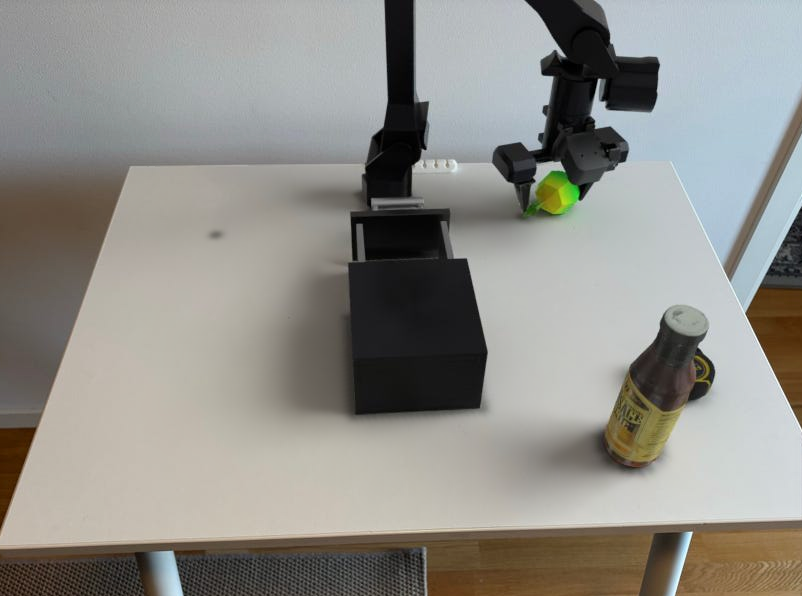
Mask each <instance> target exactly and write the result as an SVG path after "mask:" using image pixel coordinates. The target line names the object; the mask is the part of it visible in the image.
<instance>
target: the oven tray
mask: <svg viewBox="0 0 802 596" xmlns="http://www.w3.org/2000/svg"><path fill="white" fill-rule="evenodd" d="M371 207H372V210H374V211H371V210H356V211H355V210H352V211H351V210H350V212H349V219H350V221H349V222H350V239H351V240H350V241H351V262H376V261H403V260H430V259H455V257H454V252H453V251H454V250H453V246H452V243H451V236H450V228H451V227H450V226H451V209H450V207H447V208H446V207H443V208H425V198H424V196H412V197H394V198H371ZM398 209H409V210H398Z"/></svg>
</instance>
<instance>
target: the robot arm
mask: <svg viewBox="0 0 802 596" xmlns="http://www.w3.org/2000/svg"><path fill="white" fill-rule="evenodd" d="M524 2H525V3H526V4H527V5H528V6H529V7H531V8H532V10H534V11H535V12H536V13H537V14H538V16H539V17H540V19H541V20H542V21H543V23H544V25H545V27H546V28H547V30H548V33H549V34H550V36H551V38H552V39H553V41H554V42H555V43H556V45H557V46H558V48H559V49H560V51H561V52H562V54H563V55H564V56H563V55H561V54H560V53H559V52H558V50H557V49H553V50H552V52H551V53H550V54H548V55H546V56H544V57H543V58H541V59H540V61H539V64H540V65H539V66H540V75H541V76H543V77H552V82H551V89H550V94H549V100H548V104H544V105H542V110H541V113H542V114H543V115H544V116H545V117H546V118H545V123H544V130H543V132H539V133H538V134H537V141H538V142H539V143H540V144H541V148H540V149H534V150H529V149H528V148H527V147H526V145H524V143H523V142H521V141H518V142H517V141H516V142H512V143H506V144H501V145H498V146H496V147H495V148H494V149H493V152H492V160H491V164H492V165H493V166H494V167H495V168H496V170H497V171H498V172H499V174H500V175H501V176H502V178H503V179H504V180H505V181H506V182H507V183H510V184H513V187H514V190H515V194H516V198H517V201H518V204H519V208H520V210H521V212H523V213H525V212H526V211H527V209H528V207H529V205H530V204H529V203H530V196H531V189H532V185H534V184H536V183H537V180H536V178H535V176H536V174H537V169H538V166H543V165H548V164H553V163H554V164H555V163H559V162H560V164H561V166H562V168H563V170H564V172H566V174H567V177H568V180H569V182H570V183H571V184H573V185H576V186H579V190H580V194H579V197H578V200H577V201H579V202H582V201H583V200H584V198H585V197H586V195H587V194H588V193H589V191H590V190H591V188H592V186H593V185H594V184H595V183H598V182H600V181H601V179H602V178H603V176H604V174H605V173H608V172H612V171H615V170H616V168H617V167H618V166H619V164H623V163H626V162H627V160H628V157H629V153H630V144H629V143H628V141H627V140H626V139H625V138H624V137H623V136H622V135H621V134H620V133H618V132H617V131H616V130H615V129H614V128H613V127H612V126H611V125H609V126H603V127H597V128H596V126H597V125H596V119H595V118H593V116H592V111H593V106H594V101H595V97H596V93H597V88H598V102H600V103H604V108H605V110H606V111H614V112H631V113H644V114H645V113H646V114H650V113H652V112H653V110H654V108H655V106H656V103H657V101H658V96H659V94H658V87H659V71H660V68H661V63H660V60H659V57H658V56H648V55H647V56H642V57H641V56H639V57H638V56H625V55H624V56H622V55H617V53H616V49H615V45H614V43H611V31H610V27H609V24H608V20H607V16H606V12H605V9H604V8H603V6H602V5H601V4H599V3H598V2H597V0H524ZM416 5H417V2H416V0H383V7H384V32H385V33H384V34H385V35H384V38H385V59H386V60H385V61H386V62H385V64H386V93H387V103H386V109H385V115H384V120H383V126H382V127H381V128H380V129H379V130H377V131H376V132H375V133H374V134H373V135H372V136H371V138H370V142H369V147H368V152H367V157H366V161H365V162H364V173H362V174H361V197H362V200H363V202H364V204H365V205H366V207H368V208H369V211H374V210H372V207H371V198H394V197H413V196H412V195H413V166H415V165H416V164H417V163H419V162H420V160H421V158H422V153H423V150H424V151H427V150H428V143H429V135H430V126H431V125H430V123H429V120H428V116H429V110H430V109H429V108H430V101H429V100H426V101H420V98H419V95H418V91H417V15H416V14H417V10H416V9H417V7H416ZM598 84H599V85H598ZM398 210H409V209H398Z"/></svg>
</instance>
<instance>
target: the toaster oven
mask: <svg viewBox="0 0 802 596" xmlns="http://www.w3.org/2000/svg"><path fill="white" fill-rule="evenodd" d="M429 259H430V260H406V259H402V260H403V261H379V260H375V261H376V262H358V261H351V262H347V274H348V294H349V295H348V298H349V314H350V337H351V356H352V376H353V379H352V381H353V397H354V398H353V399H354V415H356V416H358V415H377V414H394V413H395V414H396V413H411V412H412V413H413V412H432V411H450V410H466V409H467V410H468V409H469V410H470V409H480V408H481V405H482V404H481V403H482V397H483V389H484V383H485V376H486V369H487V363H488V355H489V351H488V350H489V349H488V346H487V342H486V337H485V332H484V327H483V324H482V319H481V315H480V309H479V305H478V302H477V297H476V293H475V287H474V283H473V278H472V275H471V269H470V266H469V261H468V258H467V257H459V258H458V257H457V258H454V259H432V258H429Z"/></svg>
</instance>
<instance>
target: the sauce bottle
mask: <svg viewBox="0 0 802 596" xmlns="http://www.w3.org/2000/svg"><path fill="white" fill-rule="evenodd" d="M709 328H710V322H709V320H708V317H707V316H706V315H705V313H704V312H702V311H701V310H700V309H698V308H695V307H693V306H691V305H687V304H675V305H671V306H669V307H668V308H667V309H666V310H665V311H664V312H663V314H662V316H661V318H660V321H659V329H658V332H657V333H656V336H655V338H654V340H653V341H652V342H651V344H649V345H648V346H647V347H646V348H645V350H643V351H642V352H641V353H640V355H639V356H637V358H636V359H635V360H633V362H631V363H630V365H629V367H628V370H627V372H626V374H625V376H624V381H623V382H622V385H621V387H620V390H619V392H618V396H617V398H616V401H615V403H614V406H613V408H612V411H611V414H610V416H609V418H608V421H607V424H606V427H605V434H604V439H603V441H604V447H605V450H606V451H607V452H608V454H609V455H610V456H611V458H613V460H614V461H616V462H617V463H618V464H621V465H622V466H628V467H631V468H643V467H647V466H648V465H651V464H652V463H653V462H655V461H656V460H657V459H658V458H659V457H660V455H661V453H662V452H663V449H664V448H665V446H666V444H667V442H668V440H669V438H670V436H671V434H672V432H673V430H674V428H675V426H676V424H677V422H678V420H679V418H680V416H681V414H682V412H683V410H684V408H685V406H686V404H687V402H688V401H687V400H688V396H689V394H690V391H691V390H692V388H693V386H694V383H695V379H696V368H695V365H694V359H693V358H694V356H695V351H696V349H697V347H698V348H699V345H700V344H701V342H703V341H704V339H705V338H706V336H707V333H708V331H709V330H710V329H709Z"/></svg>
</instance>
